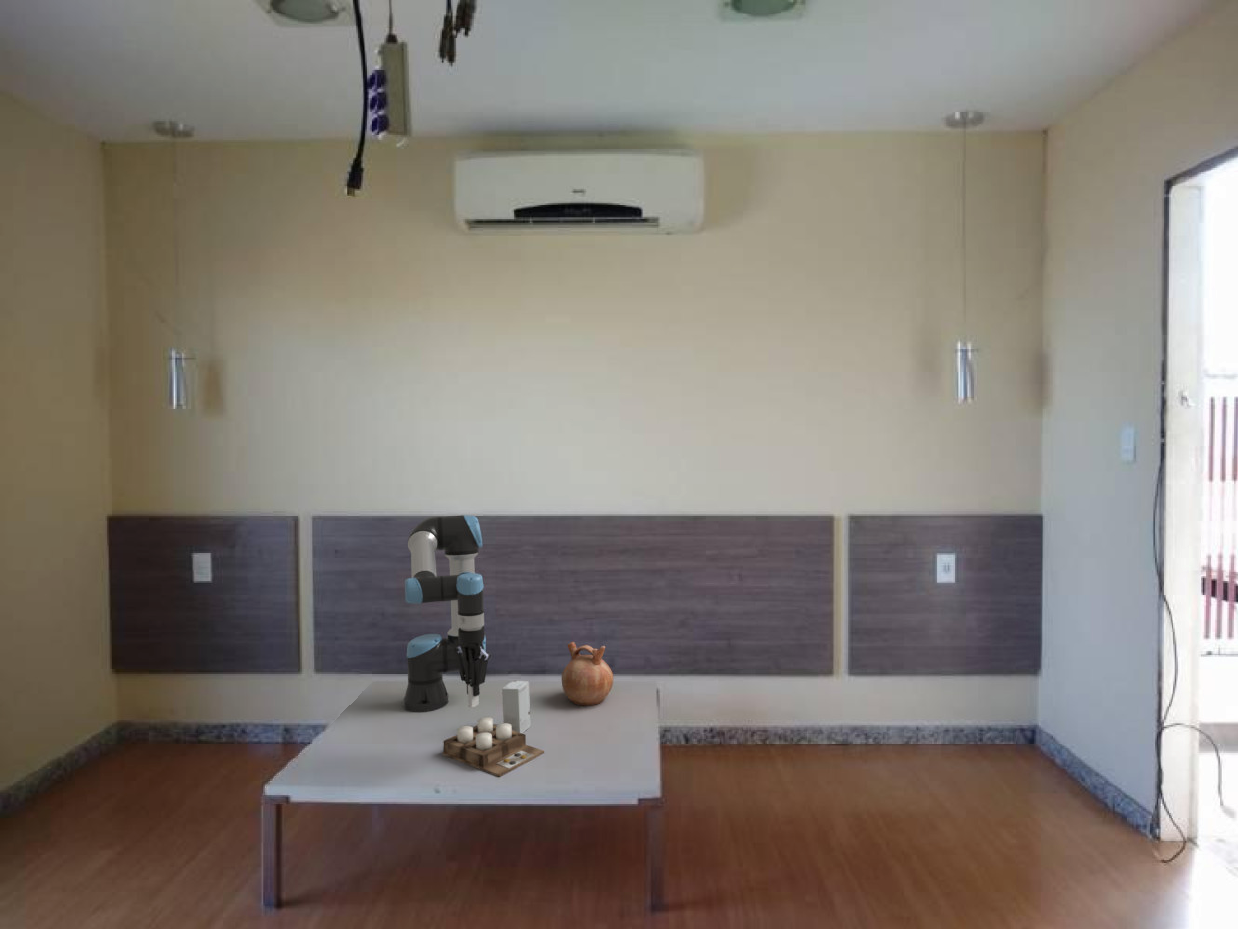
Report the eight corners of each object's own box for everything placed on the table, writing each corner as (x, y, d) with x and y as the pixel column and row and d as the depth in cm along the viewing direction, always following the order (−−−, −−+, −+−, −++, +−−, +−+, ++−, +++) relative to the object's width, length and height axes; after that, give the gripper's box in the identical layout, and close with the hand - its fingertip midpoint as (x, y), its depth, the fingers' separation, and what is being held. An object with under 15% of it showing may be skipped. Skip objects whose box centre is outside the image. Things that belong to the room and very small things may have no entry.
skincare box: (520, 736, 234) (519, 690, 233) (502, 734, 236) (501, 688, 235) (531, 726, 242) (530, 680, 241) (514, 724, 244) (512, 679, 243)
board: (442, 754, 223) (442, 741, 223) (487, 733, 237) (487, 721, 237) (499, 777, 208) (499, 762, 208) (544, 753, 223) (543, 739, 222)
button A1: (454, 743, 223) (453, 730, 223) (466, 737, 227) (465, 724, 227) (464, 747, 221) (464, 733, 220) (476, 741, 224) (476, 728, 224)
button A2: (474, 733, 230) (474, 721, 230) (485, 728, 233) (485, 716, 233) (485, 737, 227) (484, 724, 227) (496, 732, 231) (495, 719, 230)
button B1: (472, 750, 219) (472, 736, 218) (484, 744, 222) (484, 731, 222) (483, 754, 216) (483, 740, 216) (495, 748, 220) (495, 735, 219)
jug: (624, 695, 267) (623, 640, 266) (595, 713, 252) (594, 654, 250) (581, 686, 277) (580, 632, 275) (551, 702, 262) (549, 646, 260)
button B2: (493, 740, 225) (492, 727, 225) (504, 735, 229) (503, 722, 228) (504, 744, 222) (503, 731, 222) (515, 738, 226) (514, 725, 226)
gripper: (446, 626, 221) (448, 705, 223) (477, 634, 214) (480, 715, 216) (465, 620, 227) (467, 696, 229) (496, 627, 220) (498, 706, 222)
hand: (473, 705), depth 222 cm, fingers closed
